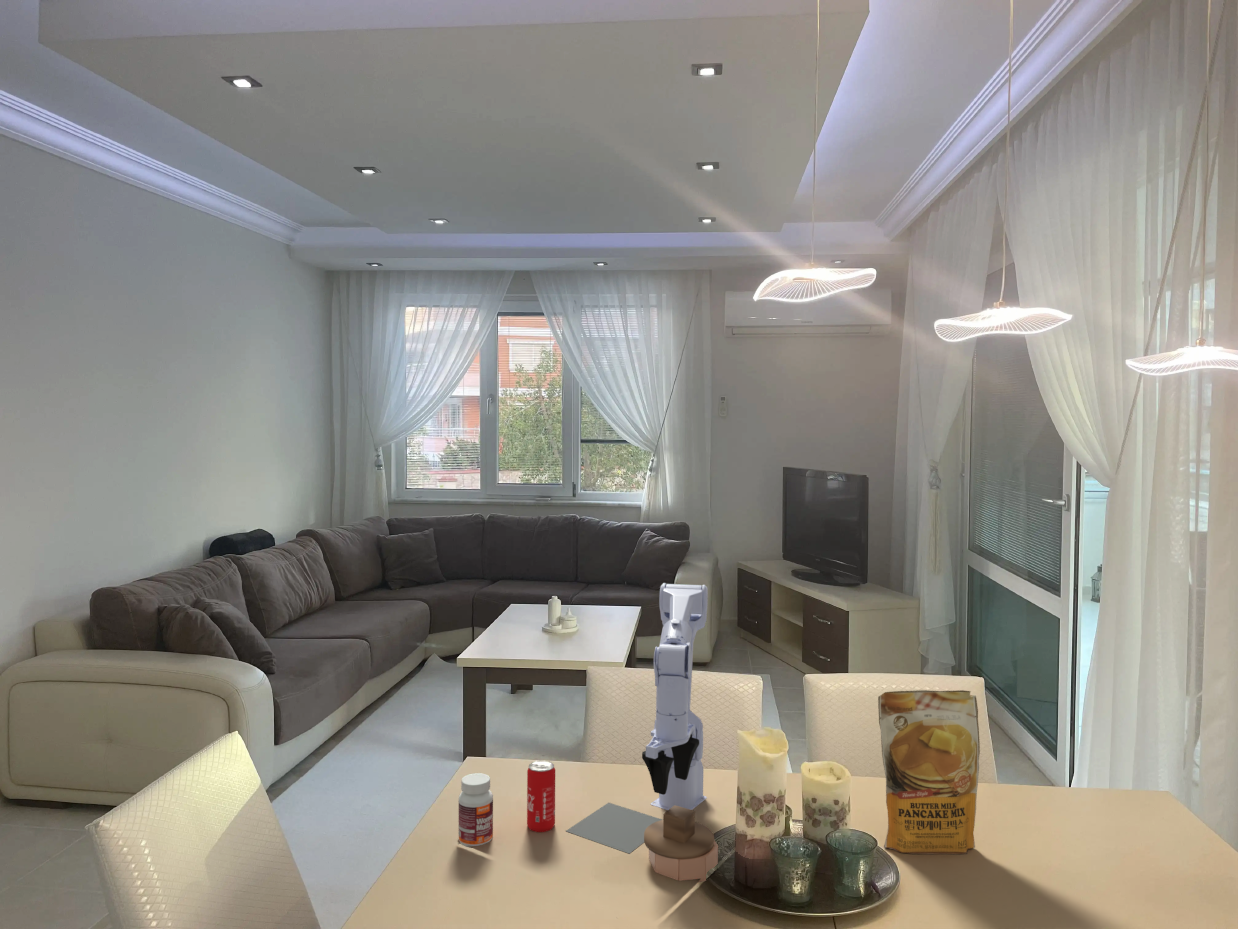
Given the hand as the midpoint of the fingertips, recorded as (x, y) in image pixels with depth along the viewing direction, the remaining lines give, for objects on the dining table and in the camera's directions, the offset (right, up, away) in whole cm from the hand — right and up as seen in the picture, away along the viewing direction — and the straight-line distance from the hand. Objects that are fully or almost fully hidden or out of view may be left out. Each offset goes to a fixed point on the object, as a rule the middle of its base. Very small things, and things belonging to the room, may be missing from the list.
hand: (670, 785), depth 149 cm
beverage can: (-24, -10, +5) cm, 26 cm away
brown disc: (+1, -7, -7) cm, 10 cm away
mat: (-9, -10, +5) cm, 15 cm away
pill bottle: (-35, -10, 0) cm, 37 cm away
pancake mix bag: (+46, -11, 0) cm, 48 cm away
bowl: (+2, -11, -7) cm, 13 cm away
